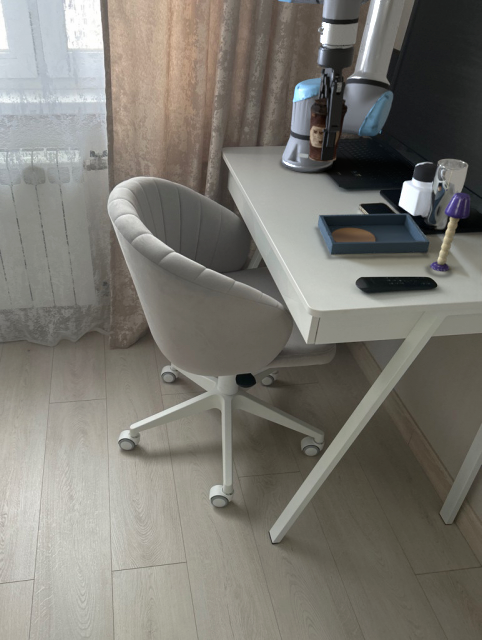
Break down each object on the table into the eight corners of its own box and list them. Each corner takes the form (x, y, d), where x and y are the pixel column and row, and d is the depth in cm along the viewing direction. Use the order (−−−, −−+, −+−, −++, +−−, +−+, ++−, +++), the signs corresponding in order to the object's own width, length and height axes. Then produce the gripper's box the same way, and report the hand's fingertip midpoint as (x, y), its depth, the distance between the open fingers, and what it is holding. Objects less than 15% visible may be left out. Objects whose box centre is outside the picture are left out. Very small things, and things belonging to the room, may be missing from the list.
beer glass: (415, 222, 139) (430, 161, 130) (437, 217, 142) (454, 156, 132) (434, 233, 135) (452, 171, 125) (457, 228, 137) (476, 166, 127)
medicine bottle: (437, 215, 142) (450, 168, 135) (412, 219, 141) (424, 171, 133) (421, 204, 148) (433, 158, 140) (397, 208, 146) (407, 161, 138)
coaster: (327, 229, 135) (327, 228, 134) (368, 228, 135) (369, 227, 135) (336, 248, 127) (336, 247, 127) (380, 247, 127) (380, 246, 127)
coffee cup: (339, 166, 132) (348, 106, 124) (304, 163, 133) (310, 105, 125) (340, 153, 139) (348, 96, 130) (306, 151, 140) (312, 94, 131)
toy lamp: (429, 263, 123) (450, 188, 113) (451, 267, 122) (475, 192, 111) (427, 273, 120) (448, 197, 109) (450, 277, 119) (474, 201, 108)
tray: (317, 228, 137) (319, 214, 135) (405, 226, 138) (408, 213, 135) (330, 258, 126) (332, 243, 123) (426, 256, 126) (430, 241, 124)
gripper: (310, 36, 128) (300, 140, 143) (329, 55, 113) (315, 169, 127) (343, 35, 128) (330, 139, 143) (366, 54, 113) (348, 168, 128)
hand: (323, 153), depth 135 cm, fingers closed on coffee cup, 7 cm apart
